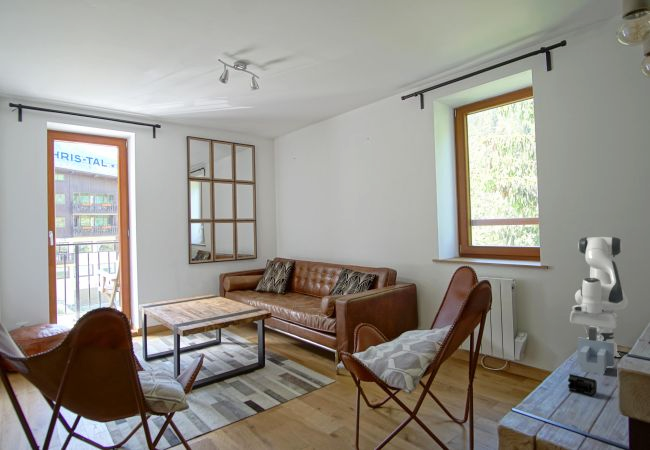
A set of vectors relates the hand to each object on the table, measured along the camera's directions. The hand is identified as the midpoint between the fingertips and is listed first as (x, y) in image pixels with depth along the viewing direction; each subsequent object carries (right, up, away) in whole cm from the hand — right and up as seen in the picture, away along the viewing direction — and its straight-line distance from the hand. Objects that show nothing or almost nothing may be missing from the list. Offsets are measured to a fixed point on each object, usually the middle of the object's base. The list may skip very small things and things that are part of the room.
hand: (592, 334), depth 195 cm
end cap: (-27, -18, -29) cm, 44 cm away
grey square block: (+1, -19, +1) cm, 19 cm away
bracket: (0, -3, 0) cm, 3 cm away
